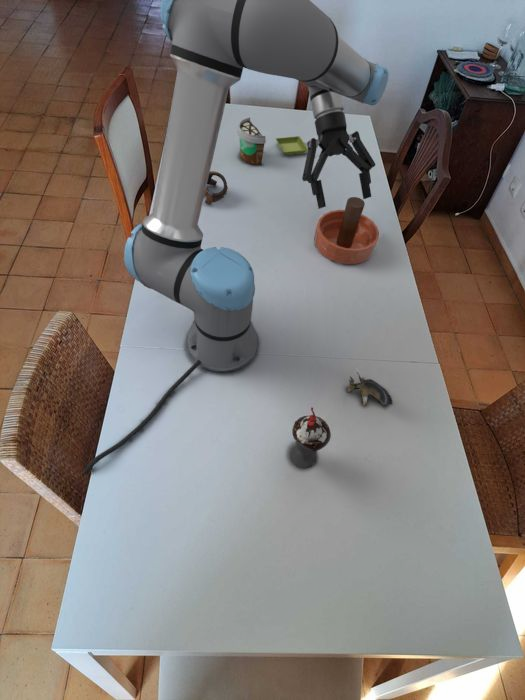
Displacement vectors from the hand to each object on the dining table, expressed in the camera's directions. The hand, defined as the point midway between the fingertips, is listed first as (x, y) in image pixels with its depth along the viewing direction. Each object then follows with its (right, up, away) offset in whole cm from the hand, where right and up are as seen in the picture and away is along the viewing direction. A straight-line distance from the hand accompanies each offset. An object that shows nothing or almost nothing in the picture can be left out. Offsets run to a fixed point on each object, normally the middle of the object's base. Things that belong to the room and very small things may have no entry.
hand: (345, 202), depth 117 cm
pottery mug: (-38, +7, +15) cm, 41 cm away
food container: (-26, +23, +28) cm, 45 cm away
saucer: (-12, +28, +34) cm, 45 cm away
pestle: (+1, -9, +6) cm, 11 cm away
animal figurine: (+1, -48, -22) cm, 53 cm away
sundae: (-14, -58, -31) cm, 67 cm away
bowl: (+1, -9, +7) cm, 12 cm away
